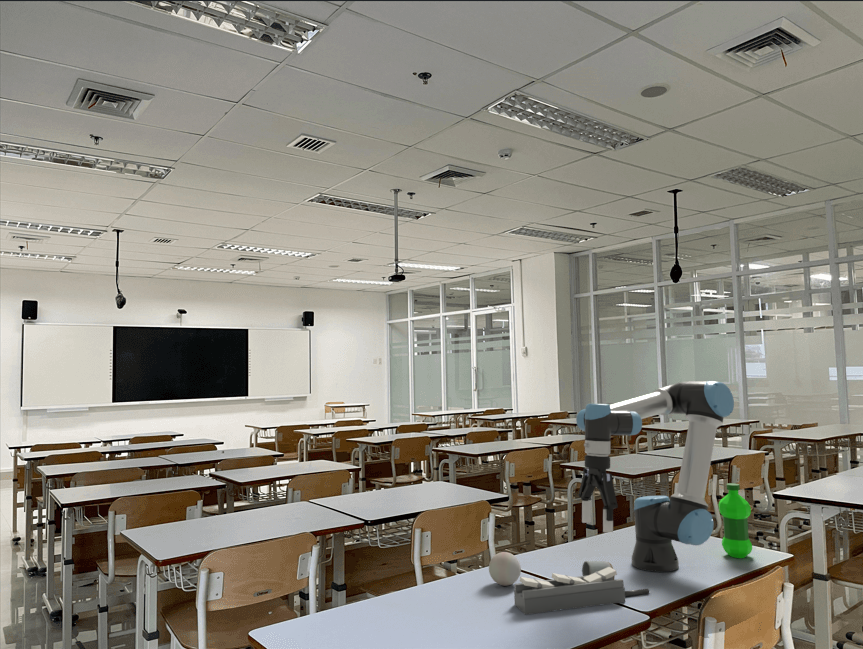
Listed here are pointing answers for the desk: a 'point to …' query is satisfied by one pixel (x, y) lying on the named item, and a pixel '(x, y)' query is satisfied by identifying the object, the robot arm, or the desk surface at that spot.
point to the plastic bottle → (735, 523)
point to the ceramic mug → (594, 567)
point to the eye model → (504, 568)
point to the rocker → (600, 575)
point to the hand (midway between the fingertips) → (596, 527)
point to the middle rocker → (567, 579)
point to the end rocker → (535, 583)
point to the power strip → (571, 595)
